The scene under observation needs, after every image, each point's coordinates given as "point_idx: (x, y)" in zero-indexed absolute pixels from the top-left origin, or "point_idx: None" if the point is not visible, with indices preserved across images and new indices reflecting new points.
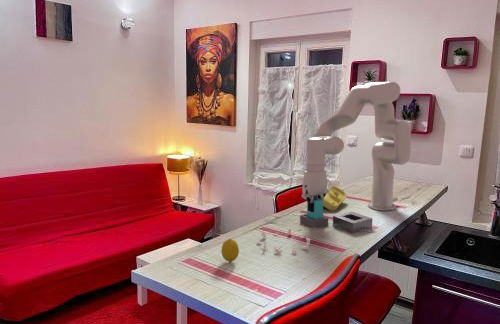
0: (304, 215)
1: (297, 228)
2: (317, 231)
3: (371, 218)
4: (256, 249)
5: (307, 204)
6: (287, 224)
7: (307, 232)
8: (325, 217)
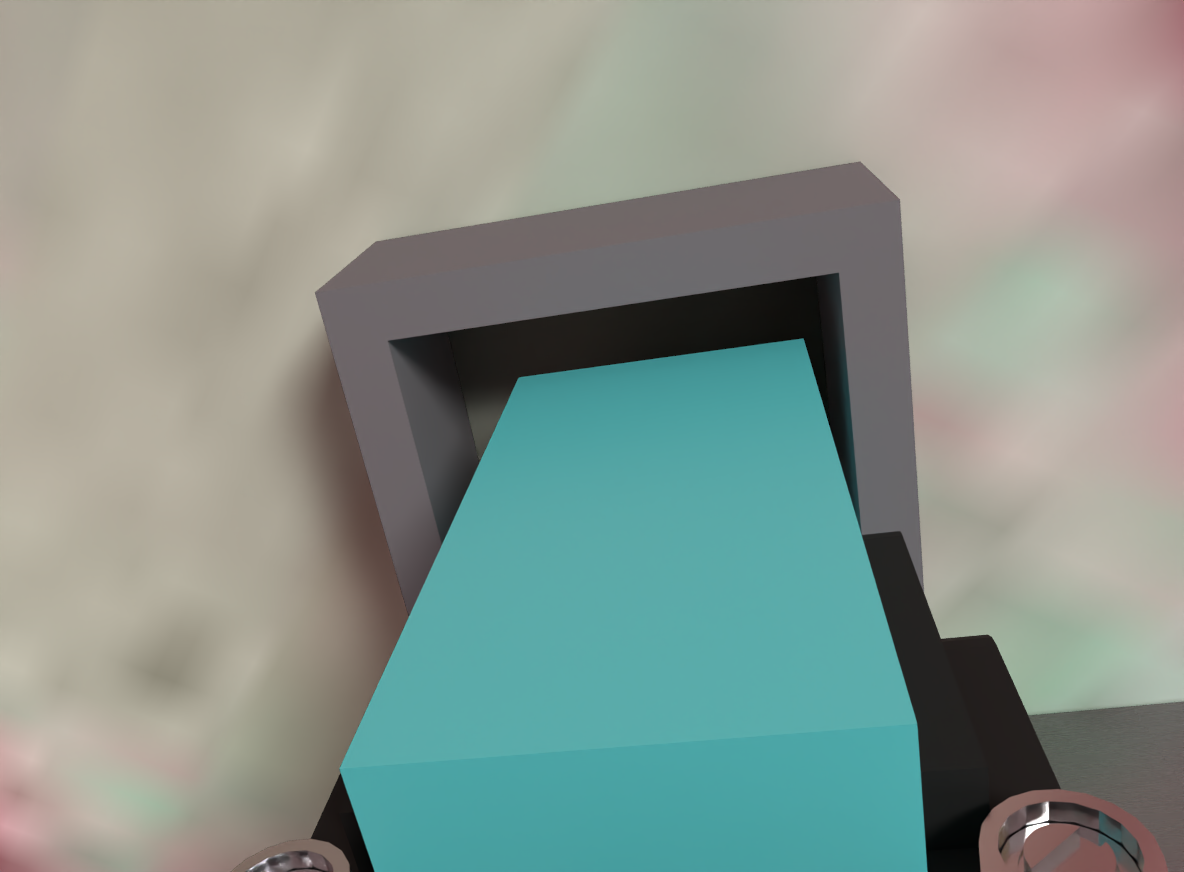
0: (457, 325)
1: (152, 583)
2: None
3: None
4: None
5: (431, 598)
6: (4, 279)
7: (262, 812)
8: None
